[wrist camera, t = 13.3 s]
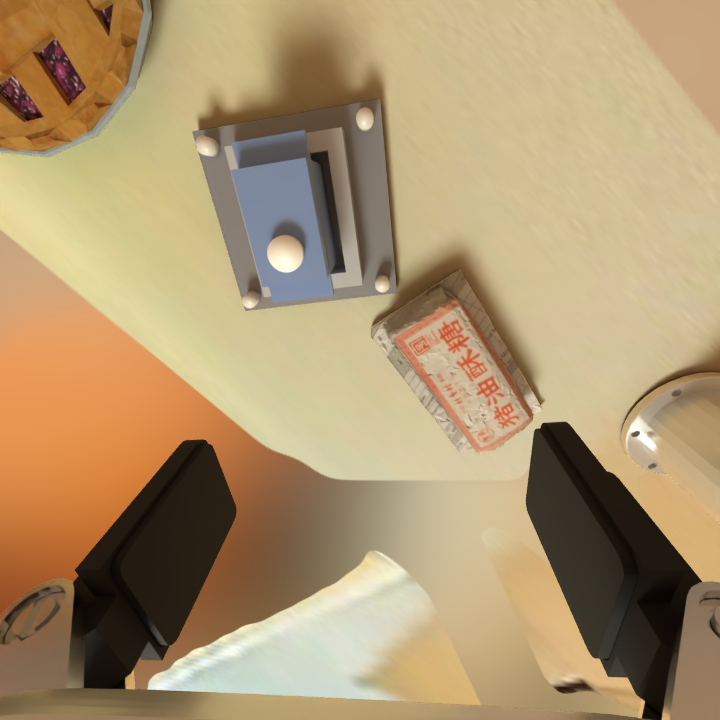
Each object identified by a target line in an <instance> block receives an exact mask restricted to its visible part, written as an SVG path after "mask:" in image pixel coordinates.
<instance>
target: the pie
mask: <svg viewBox="0 0 720 720" xmlns="http://www.w3.org/2000/svg"><path fill="white" fill-rule="evenodd" d="M152 25H153V21H152V11H151V4H150V0H0V153H8V154H19V155H30V156H40V157H50V156H53V155H55V154H57V153H60V152H62V151H64V150H66V149H69V148H71V147H73V146H76V145H78V144H80V143H83V142H85V141H87V140H89V139H92V138H94V137H96V136H98V135H99V134H100V133H101V132H102V130H103V129H104V128H105V126H106V125H107V124H108V123H109V121H110V120H111V119H112V117H113V116H114V115H115V114H116V112H117V111H118V110H119V108H120V107H121V106H122V105H123V103H124V102H125V101H126V100H127V98H128V97H129V96H130V94H131V93H132V92H133V91H134V89H135V87H136V83H137V79H138V78H139V76H140V72H141V68H142V64H143V61H144V57H145V53H146V49H147V45H148V41H149V37H150V33H151V29H152Z"/></svg>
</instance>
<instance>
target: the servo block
mask: <svg viewBox="0 0 720 720" xmlns="http://www.w3.org/2000/svg"><path fill="white" fill-rule="evenodd" d="M231 144H232V147H233V151H234V155H235V159H236V163H237V167H238V169H234V170H231V173H232V177H233V181H234V184H235V188H236V192H237V195H238V199H239V203H240V207H241V210H242V214H243V218H244V221H245V225H246V229H247V233H248V236H249V240H250V244H251V247H252V251H253V255H254V259H255V262H256V266H257V270H258V273H259V277H260V281H261V284H262V287H269V289H270V293H271V297H272V301H273V303H277V302H285V301H293V300H301V299H309V298H317V297H325V296H333V295H334V288H333V282H332V276H331V271H332V270H333V268H334V266H335V264H336V262H337V260H338V255H337V249H336V243H335V237H334V230H333V224H332V218H331V212H330V206H329V200H328V194H327V187H326V181H325V175H324V169H323V165H321V164H319V163H317V162H314V161H312V160H311V156H310V150H309V145H308V139H307V133H306V131H305V130H301V131H296V132H290V133H284V134H279V135H273V136H267V137H261V138H256V139H250V140H244V141H239V142H233V143H231Z"/></svg>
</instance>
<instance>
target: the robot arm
mask: <svg viewBox="0 0 720 720" xmlns="http://www.w3.org/2000/svg"><path fill="white" fill-rule="evenodd" d="M621 442H622V447H623V449H624V451H625V453H626V454H627V455H628V456H629V457H630V458H631V460H632V461H633V462H634V463H635V464H637V465H638V466H640V467H641V468H643V469H645V470H648V471H651V472H655V473H661V474H668V475H669V476H670V477H671V478H672V479H673V480H674V481H675V482H676V483H677V484H678V485H679V486H680V487H681V488H682V489H683V490H684V491H685V492H686V493H688V494H689V495H690V496H691V497H692V498H693V499H694V500H695V501H696V502H697V503H698V504H699V505H700V506H701V507H702V508H703V509H704V510H705V511H706V512H707V513H708V514H709V515H710V516H711V517H712V518H713V519H714V520H715V521H716V522H717V523H718V524H719V525H720V373H719V372H704V373H696V374H692V375H687V376H683V377H681V378H678V379H675V380H672V381H670V382H668V383H666V384H664V385H662V386H660V387H658V388H657V389H655V390H654V391H652V392H651V393H649V394H648V395H646V396H645V397H644V398H643V399H642V400H641V401H640V402H639V403H638V404H637V405H636V406H635V407H634V408H633V410H632V411H631V412H630V413H629V415H628V417H627V419H626V421H625V422H624V425H623V428H622V433H621ZM526 507H527V511H528V514H529V516H530V518H531V521H532V523H533V525H534V528H535V530H536V532H537V535H538V537H539V539H540V541H541V544H542V546H543V548H544V550H545V553H546V555H547V557H548V560H549V562H550V564H551V567H552V569H553V571H554V573H555V576H556V578H557V580H558V583H559V585H560V587H561V590H562V592H563V594H564V596H565V599H566V601H567V603H568V606H569V608H570V610H571V612H572V615H573V617H574V619H575V622H576V624H577V626H578V628H579V631H580V633H581V635H582V638H583V640H584V642H585V644H586V647H587V649H588V651H589V652H590V654H591V655H592V657H594V658H600V660H601V662H602V664H603V667H604V669H605V671H606V673H607V675H608V677H628V679H629V681H630V683H631V685H632V687H633V689H634V691H635V693H636V695H638V696H639V697H640V698H641V703H640V708H639V713H638V718H635V717H628V716H619V715H612V714H597V713H585V712H571V711H557V710H544V709H531V708H516V707H496V706H479V705H460V704H441V703H423V702H404V701H385V700H364V699H344V698H323V697H302V696H281V695H259V694H237V693H213V692H189V691H165V690H141V689H135V682H134V667H135V665H136V663H137V661H138V659H139V658H141V659H142V660H163V658H164V656H165V654H166V652H167V650H168V648H169V646H170V645H172V644H173V643H174V642H175V641H176V640H177V638H178V637H179V635H180V632H181V630H182V628H183V626H184V624H185V621H186V620H187V618H188V616H189V614H190V612H191V610H192V607H193V605H194V603H195V601H196V599H197V597H198V595H199V593H200V591H201V589H202V587H203V584H204V582H205V580H206V578H207V576H208V574H209V572H210V570H211V568H212V566H213V564H214V561H215V559H216V557H217V555H218V553H219V551H220V549H221V547H222V544H223V542H224V541H225V538H226V536H227V534H228V532H229V530H230V528H231V526H232V524H233V522H234V519H235V517H236V505H235V503H234V500H233V498H232V495H231V492H230V490H229V487H228V485H227V482H226V480H225V477H224V474H223V472H222V469H221V467H220V464H219V461H218V459H217V456H216V453H215V451H214V448H213V446H212V445H210V444H208V443H207V441H206V440H186V441H183V442H182V444H180V445H179V447H178V448H177V449H176V450H175V451H174V453H173V454H172V455H171V456H170V457H169V458H168V460H167V461H166V462H165V463H164V464H163V466H162V467H161V468H160V469H159V470H158V472H157V473H156V474H155V475H154V476H153V478H152V479H151V480H150V481H149V483H147V485H146V486H145V487H144V488H143V489H142V491H141V492H140V493H139V494H138V496H137V497H136V498H135V499H134V500H133V501H132V502H131V504H130V505H129V506H128V507H127V508H126V510H125V511H124V512H123V513H122V515H121V516H120V517H119V518H118V519H117V520H116V522H115V523H114V524H113V525H112V526H111V527H110V529H109V530H108V531H107V532H106V533H105V535H104V536H103V537H102V538H101V539H100V541H99V542H98V543H97V544H96V545H95V547H94V548H93V549H92V550H91V551H90V553H89V554H88V555H87V556H86V557H85V558H84V560H83V561H82V562H81V563H80V564H79V566H78V567H77V568H76V569H75V571H76V572H77V574H78V575H79V576H78V577H77V579H76V580H75V581H74V582H73V583H72V582H71V581H70V580H68V579H55V580H51V581H48V582H46V583H44V584H41V585H39V586H37V587H35V588H33V589H32V590H30V591H29V592H27V593H25V594H24V595H23V596H21V597H20V598H19V599H18V600H16V601H15V602H14V603H13V604H11V606H10V607H8V608H7V609H6V610H5V611H4V612H3V614H1V616H0V720H720V583H718V582H702V581H701V580H700V578H699V577H698V576H697V575H696V573H695V572H694V571H693V570H692V569H691V567H690V566H689V565H688V564H687V562H686V561H685V560H684V559H683V557H682V556H681V555H680V554H679V553H678V551H677V550H676V549H675V548H674V546H673V545H672V544H671V543H670V541H669V540H668V539H667V538H666V536H665V535H664V534H663V533H662V532H661V530H660V529H659V528H658V527H657V525H656V524H655V523H654V522H653V520H652V519H651V518H650V517H649V515H648V514H647V513H646V512H645V511H644V509H643V508H642V507H641V506H640V504H639V503H638V502H637V501H636V500H635V498H634V497H633V496H632V495H631V493H630V492H629V491H628V490H627V489H626V487H625V486H624V485H623V483H622V482H621V481H620V480H619V479H618V478H617V477H616V476H615V475H614V474H613V473H610V472H607V471H606V470H605V469H604V468H603V466H602V465H601V464H600V462H599V461H598V460H597V459H596V457H595V456H594V455H593V454H592V452H591V451H590V450H589V448H588V447H587V446H586V445H585V443H584V442H583V441H582V440H581V438H580V437H579V436H578V435H577V433H576V432H575V431H574V429H573V428H572V427H571V426H570V425H569V424H568V423H567V422H552V423H543V424H542V425H541V428H540V429H535V431H534V437H533V445H532V454H531V462H530V470H529V478H528V487H527V494H526Z"/></svg>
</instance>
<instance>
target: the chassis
mask: <svg viewBox="0 0 720 720" xmlns="http://www.w3.org/2000/svg"><path fill="white" fill-rule="evenodd" d="M301 130H305V131H306V133H307V139H308V145H309V150H310V156H311V160H312V161H314V162H317V163H319V164H321V165H323V169H324V175H325V181H326V187H327V194H328V200H329V206H330V212H331V218H332V224H333V230H334V237H335V243H336V249H337V255H338V260H337V262H336V264H335V266H334V268H333V270H332V271H331V276H332V282H333V288H334V295H333V296H325V297H317V298H309V299H301V300H293V301H285V302H277V303H273V301H272V297H271V293H270V289H269V287H262V284H261V281H260V277H259V273H258V270H257V266H256V262H255V259H254V255H253V251H252V247H251V244H250V240H249V236H248V233H247V229H246V225H245V221H244V218H243V214H242V210H241V207H240V203H239V199H238V195H237V192H236V188H235V184H234V181H233V177H232V173H231V170H234V169H238V167H237V163H236V159H235V155H234V151H233V147H232V144H231V143H233V142H239V141H244V140H250V139H256V138H261V137H267V136H273V135H279V134H284V133H290V132H296V131H301ZM193 135H194V139H195V142H196V148H197V150H198V152H199V156H200V159H201V162H202V166H203V169H204V173H205V176H206V179H207V183H208V186H209V189H210V193H211V196H212V200H213V203H214V206H215V210H216V213H217V216H218V220H219V223H220V227H221V230H222V233H223V237H224V240H225V243H226V247H227V250H228V254H229V257H230V260H231V264H232V267H233V270H234V274H235V277H236V281H237V284H238V287H239V291H240V294H241V297H242V303H243V305H244V308H245V311H248V310H257V309H265V308H274V307H282V306H290V305H299V304H307V303H316V302H324V301H332V300H341V299H349V298H357V297H366V296H374V295H383V294H391V293H397V288H396V276H395V265H394V253H393V242H392V230H391V218H390V207H389V195H388V184H387V172H386V161H385V149H384V138H383V126H382V115H381V103H380V99H376V100H370V101H364V102H359V103H353V104H347V105H341V106H336V107H330V108H324V109H318V110H313V111H307V112H301V113H296V114H290V115H284V116H278V117H273V118H267V119H261V120H255V121H250V122H244V123H238V124H233V125H227V126H221V127H215V128H210V129H204V130H198V131H193Z"/></svg>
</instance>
